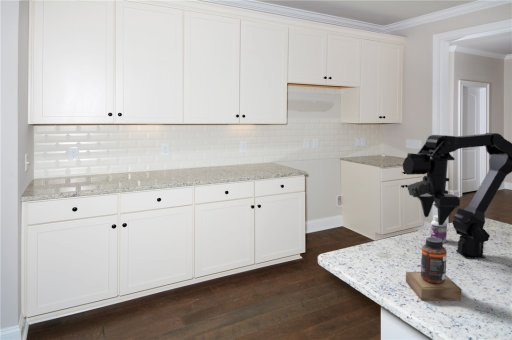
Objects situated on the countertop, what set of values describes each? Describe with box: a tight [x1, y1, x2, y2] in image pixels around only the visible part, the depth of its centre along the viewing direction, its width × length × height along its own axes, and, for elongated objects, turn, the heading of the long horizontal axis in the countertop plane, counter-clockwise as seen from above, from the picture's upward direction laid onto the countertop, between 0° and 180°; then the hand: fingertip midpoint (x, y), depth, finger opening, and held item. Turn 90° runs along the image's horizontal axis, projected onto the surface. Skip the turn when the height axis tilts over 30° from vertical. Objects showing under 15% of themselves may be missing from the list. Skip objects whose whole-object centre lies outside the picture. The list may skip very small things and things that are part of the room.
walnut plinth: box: [405, 271, 463, 301], centre depth 90 cm, size 10×10×3 cm
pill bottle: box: [430, 214, 448, 244], centre depth 126 cm, size 5×5×10 cm
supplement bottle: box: [420, 236, 448, 283], centre depth 89 cm, size 6×6×11 cm
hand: (433, 220), depth 109 cm, fingers open, 9 cm apart
